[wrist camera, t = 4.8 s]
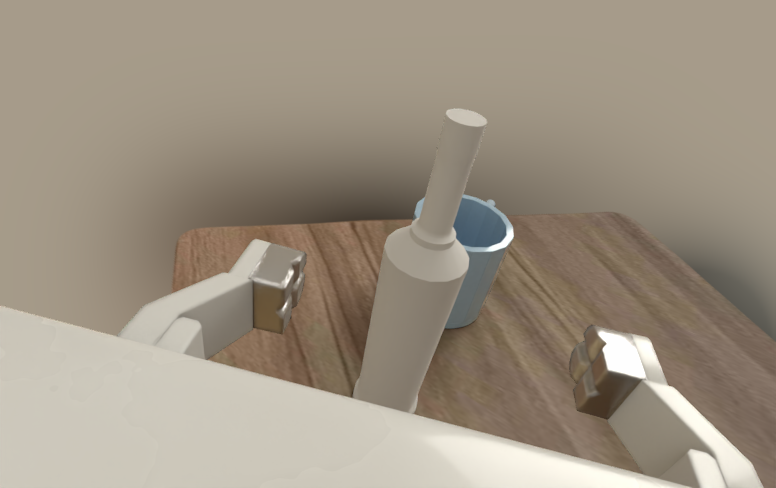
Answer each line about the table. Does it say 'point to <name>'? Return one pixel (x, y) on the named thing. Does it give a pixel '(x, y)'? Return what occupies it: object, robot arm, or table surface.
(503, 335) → the table surface
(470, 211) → the blue faceted cup
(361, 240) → the table surface
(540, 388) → the table surface
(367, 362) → the bottle
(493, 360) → the table surface
